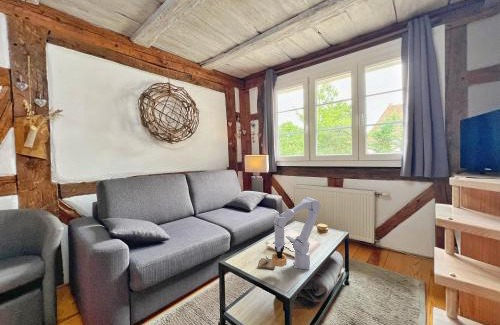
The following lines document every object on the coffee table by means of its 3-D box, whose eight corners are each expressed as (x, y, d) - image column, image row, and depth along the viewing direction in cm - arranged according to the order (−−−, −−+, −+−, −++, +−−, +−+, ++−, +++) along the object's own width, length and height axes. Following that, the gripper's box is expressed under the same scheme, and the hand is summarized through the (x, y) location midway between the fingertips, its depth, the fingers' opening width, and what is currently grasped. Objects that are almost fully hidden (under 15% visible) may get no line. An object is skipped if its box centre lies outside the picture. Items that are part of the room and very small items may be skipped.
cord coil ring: (286, 259, 129) (286, 254, 128) (286, 267, 120) (286, 261, 120) (272, 258, 130) (272, 252, 130) (271, 265, 122) (271, 260, 122)
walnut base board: (275, 261, 141) (275, 259, 141) (274, 269, 131) (274, 267, 131) (261, 259, 143) (261, 258, 143) (258, 268, 133) (258, 266, 133)
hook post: (269, 262, 138) (268, 256, 137) (268, 263, 136) (268, 257, 135) (266, 261, 138) (265, 255, 138) (265, 263, 136) (265, 257, 136)
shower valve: (292, 234, 171) (305, 241, 158) (292, 241, 172) (305, 248, 158) (280, 237, 166) (292, 245, 152) (280, 244, 166) (292, 252, 153)
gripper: (274, 230, 136) (274, 250, 137) (271, 240, 121) (271, 262, 122) (285, 231, 134) (285, 251, 135) (283, 241, 120) (284, 264, 121)
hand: (279, 257), depth 129 cm, fingers closed on cord coil ring
